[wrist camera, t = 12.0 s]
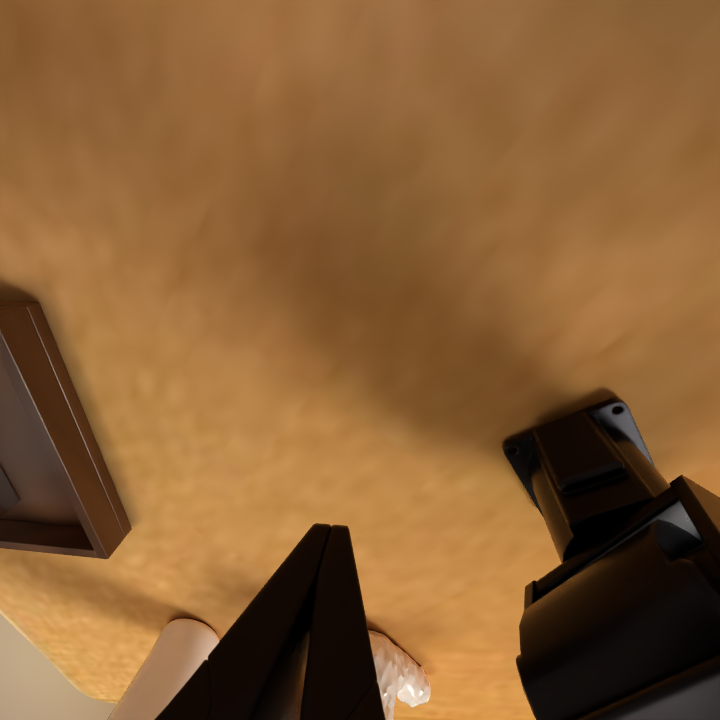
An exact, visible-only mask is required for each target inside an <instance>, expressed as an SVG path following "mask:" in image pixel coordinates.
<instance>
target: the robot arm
mask: <svg viewBox="0 0 720 720" xmlns="http://www.w3.org/2000/svg"><path fill="white" fill-rule="evenodd" d="M616 406H619V407H618V408H617V409H616V410H612V409H613V408H614V407H616ZM511 447H516V448H515V449H512V450H510V449H509V448H511ZM502 448H503V451H504V454H505V455H506V457H507V459H508V460H509V462H510V464H511V465H512V467H513V468H514V470H515V472H516V473H517V475H518V477H519V478H520V480H521V482H522V483H523V485H524V486H525V488H526V490H527V491H528V493H529V495H530V496H531V498H532V499H533V501H534V503H535V504H536V506H537V508H538V509H539V511H540V513H541V514H542V516H543V517H544V519H545V522H546V524H547V527H548V529H549V532H550V535H551V537H552V540H553V542H554V545H555V547H556V550H557V553H558V555H559V558H560V560H561V563H562V564H561V565H559V566H558V567H556V568H555V569H554V570H552V571H551V572H549V573H548V574H547V575H545V576H544V577H542V578H541V579H540V580H538V581H532V582H531V583H530V584H528V585H527V586H525V602H524V613H523V616H522V619H521V622H520V625H519V631H520V650H521V654H520V655H518V656H517V658H516V664H517V669H518V673H519V676H520V679H521V683H522V686H523V690H524V692H525V695H526V697H527V700H528V702H529V704H530V707H531V709H532V712H533V714H534V716H535V718H536V720H720V498H719V497H718V496H716V495H714V494H713V493H711V492H710V491H708V490H706V489H705V488H703V487H701V486H700V485H698V484H696V483H695V482H693V481H691V480H690V479H688V478H686V477H685V476H683V475H680V476H679V477H678V478H676V479H675V480H673V481H672V482H671V483H669V484H670V485H669V484H668V483H667V482H666V480H665V479H664V478H663V477H662V476H661V474H660V473H659V472H658V471H657V470H656V468H655V466H654V464H653V461H652V459H651V457H650V455H649V452H648V450H647V448H646V446H645V443H644V441H643V439H642V437H641V435H640V432H639V430H638V428H637V426H636V423H635V421H634V419H633V417H632V414H631V412H630V410H629V408H628V406H627V405H626V403H625V402H624V401H623V400H622V399H619V398H612V399H609V400H606V401H604V402H601V403H599V404H596V405H594V406H591V407H589V408H586V409H584V410H581V411H579V412H576V413H574V414H571V415H569V416H566V417H563V418H561V419H558V420H556V421H553V422H551V423H548V424H546V425H543V426H541V427H538V428H536V429H533V430H531V431H528V432H526V433H523V434H521V435H518V436H516V437H513V438H511V439H508V440H506V441H505V442H504V443H503V445H502ZM154 720H386V719H385V714H384V710H383V705H382V699H381V694H380V689H379V684H378V683H377V674H376V669H375V663H374V658H373V653H372V648H371V642H370V637H369V632H368V627H367V621H366V616H365V611H364V606H363V600H362V595H361V590H360V584H359V579H358V574H357V569H356V563H355V558H354V553H353V548H352V542H351V537H350V532H349V528H348V526H343V525H333V526H332V527H331V525H329V524H319V523H316V524H314V525H313V526H312V527H311V528H310V529H309V531H308V532H307V533H306V534H305V536H304V537H303V538H302V539H301V541H300V542H299V543H298V544H297V546H296V547H295V548H294V549H293V551H292V552H291V553H290V554H289V556H288V557H287V558H286V559H285V561H284V562H283V563H282V564H281V566H280V567H279V568H278V569H277V571H276V572H275V573H274V574H273V575H272V577H271V578H270V579H269V580H268V582H267V583H266V584H265V585H264V587H263V588H262V589H261V590H260V592H259V593H258V594H257V595H256V597H255V598H254V599H253V600H252V602H251V603H250V604H249V605H248V607H247V608H246V609H245V610H244V612H243V613H242V614H241V615H240V617H239V618H238V619H237V620H236V622H235V623H234V624H233V625H232V627H231V628H230V629H229V630H228V632H227V633H226V634H225V635H224V637H223V638H222V639H221V640H220V642H219V643H218V644H217V645H216V647H215V648H214V649H213V650H212V651H211V653H210V654H209V655H208V660H204V661H203V662H202V664H201V665H200V666H199V667H198V669H197V670H196V671H195V672H194V674H193V675H192V676H191V677H190V679H189V680H188V681H187V682H186V683H185V685H184V686H183V687H182V688H181V689H180V691H179V692H178V693H177V694H176V695H175V697H174V698H173V699H172V700H171V701H170V703H169V704H168V705H167V706H166V707H165V708H164V709H163V711H162V712H161V713H160V714H159V715H158V716H157V717H156V718H155V719H154Z"/></svg>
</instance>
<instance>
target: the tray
mask: <svg viewBox="0 0 720 720" xmlns="http://www.w3.org/2000/svg"><path fill="white" fill-rule="evenodd" d="M130 530H131V526H130V523H129V521H128V519H127V516H126V514H125V511H124V509H123V506H122V504H121V501H120V499H119V497H118V494H117V492H116V489H115V487H114V484H113V482H112V480H111V477H110V475H109V472H108V470H107V467H106V465H105V462H104V460H103V458H102V455H101V453H100V450H99V448H98V445H97V443H96V440H95V438H94V436H93V433H92V431H91V428H90V426H89V423H88V421H87V419H86V416H85V414H84V411H83V409H82V406H81V404H80V401H79V399H78V397H77V394H76V392H75V389H74V387H73V384H72V382H71V379H70V377H69V375H68V372H67V370H66V367H65V365H64V362H63V360H62V358H61V355H60V353H59V350H58V348H57V345H56V343H55V340H54V338H53V336H52V333H51V331H50V328H49V326H48V323H47V321H46V318H45V316H44V314H43V311H42V309H41V306H40V304H39V302H0V548H5V549H14V550H24V551H34V552H43V553H53V554H63V555H72V556H82V557H92V558H101V559H108V558H109V557H110V556H111V555H112V553H113V552H114V551H115V550H116V548H117V547H118V546H119V544H120V543H121V542H122V541H123V539H124V538H125V537H126V535H127V534H128V533H129V532H130Z"/></svg>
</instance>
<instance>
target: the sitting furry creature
mask: <svg viewBox="0 0 720 720" xmlns="http://www.w3.org/2000/svg"><path fill="white" fill-rule="evenodd" d="M368 632H369V637H370V642H371V648H372V653H373V658H374V663H375V669H376V674H377V683H378V684H379V689H380V694H381V699H382V705H383V710H384V714H385V719H386V720H393V715H394V705H395V703H396V699H395V697H396V696H398V698H399V700H400V701H401V702H404V703H407V704H408V705H409V706H411V707H412V708H413V707H415V706H417V705H420V704H423V703H427V702H428V700H429V698H430V691H431V689H430V684H429V680H428V678H427V676H426V674H425V673H424V668H423V666H419V665H418V664H416V662H415V661H414V660H413V659H411V658H410V657H409V656H408V654H407V653H405V652H403V651H402V650H401V649H400V648H399V647H398V646H397V645H396V646H395V645H394V644H393V643H392V642H391V641H390V640H389V639H388V638H387V637H386V636H385V635H383V634H381V633H377V632H376V631H369V630H368Z"/></svg>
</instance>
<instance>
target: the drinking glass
mask: <svg viewBox="0 0 720 720" xmlns="http://www.w3.org/2000/svg"><path fill="white" fill-rule="evenodd" d="M218 643H219V638H218V636H217V634H216V633H215V632H214V631H213V630H212V629H211V628H210V627H209V626H207V625H205V624H204V623H201V622H199V621H196V620H192V619H176V620H173V621H171V622H169V623H168V624H167V625H166V626H165V627H164V629H163V630H162V632H161V634H160V635H159V637H158V639H157V641H156V643H155V644H154V646H153V648H152V650H151V651H150V653H149V655H148V656H147V658H146V659H145V661H144V663H143V664H142V666H141V667H140V669H139V671H138V672H137V674H136V675H135V677H134V679H133V680H132V682H131V683H130V685H129V686H128V688H127V690H126V691H125V693H124V694H123V696H122V697H121V699H120V701H119V702H118V704H117V705H116V707H115V708H114V710H113V712H112V713H111V715H110V716H109V718H108V719H107V720H154V719H155V718H156V717H157V716H158V715H159V714H160V713H161V712H162V711H163V709H164V708H165V707H166V706H167V705H168V704H169V703H170V701H171V700H172V699H173V698H174V697H175V695H176V694H177V693H178V692H179V691H180V689H181V688H182V687H183V686H184V685H185V683H186V682H187V681H188V680H189V679H190V677H191V676H192V675H193V674H194V672H195V671H196V670H197V669H198V667H199V666H200V665H201V664H202V662H203V661H204V660H208V655H209V654H210V653H211V651H212V650H213V649H214V648H215V647H216V645H217V644H218Z"/></svg>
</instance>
